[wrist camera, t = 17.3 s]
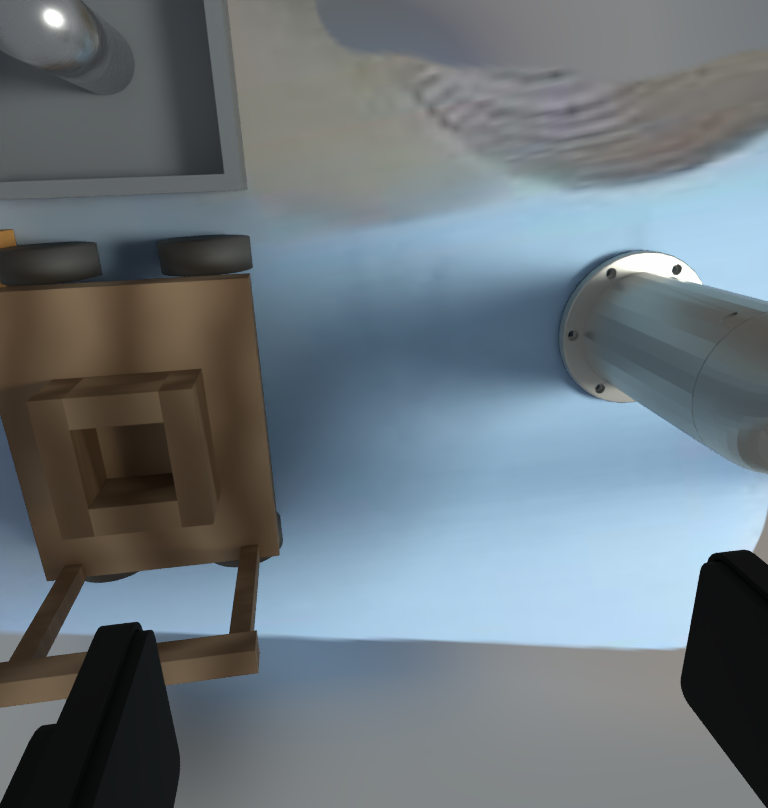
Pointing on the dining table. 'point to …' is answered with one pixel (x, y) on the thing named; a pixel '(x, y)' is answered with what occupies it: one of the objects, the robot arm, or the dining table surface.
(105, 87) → the pin
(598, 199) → the dining table surface
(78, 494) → the trolley
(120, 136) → the tray
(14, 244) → the orange block
